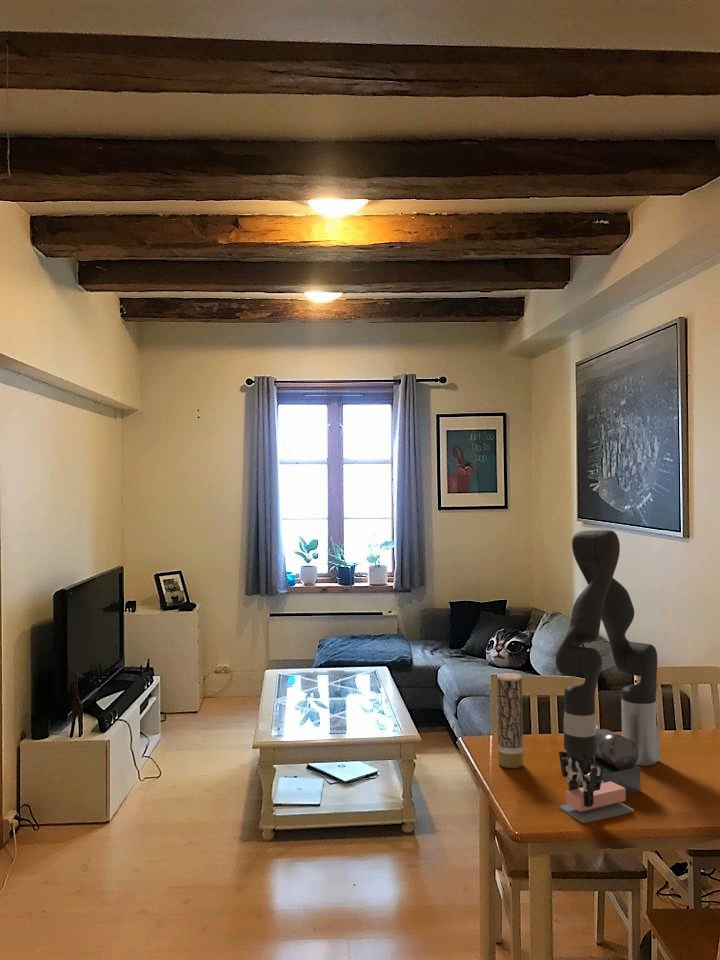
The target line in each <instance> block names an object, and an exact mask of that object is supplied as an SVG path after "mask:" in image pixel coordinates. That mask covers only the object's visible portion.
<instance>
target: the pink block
mask: <svg viewBox="0 0 720 960" xmlns="http://www.w3.org/2000/svg"><path fill="white" fill-rule="evenodd" d="M583 791H584V788H583V787H578V789H575V790H569V789H568V790H566V791H565V805H566V804H567V805H569V806H571V807H573V808H575V809H577V810H578V811H584V810H589V809H593V808H597V807H601V806H605V805H610V804H614V803H618V802H621V803H623V802H625V801H626V798H627V797H626V796H627V794H626V789H625V788H624V787H622V786H620V785H618V784H615V783H613V782H611V781H610V782H605V783H601V786H600V790H597V791H594V792H593V795H594V798H593V799H594V803H593V806H591V807H585V806H584V797H583Z"/></svg>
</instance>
